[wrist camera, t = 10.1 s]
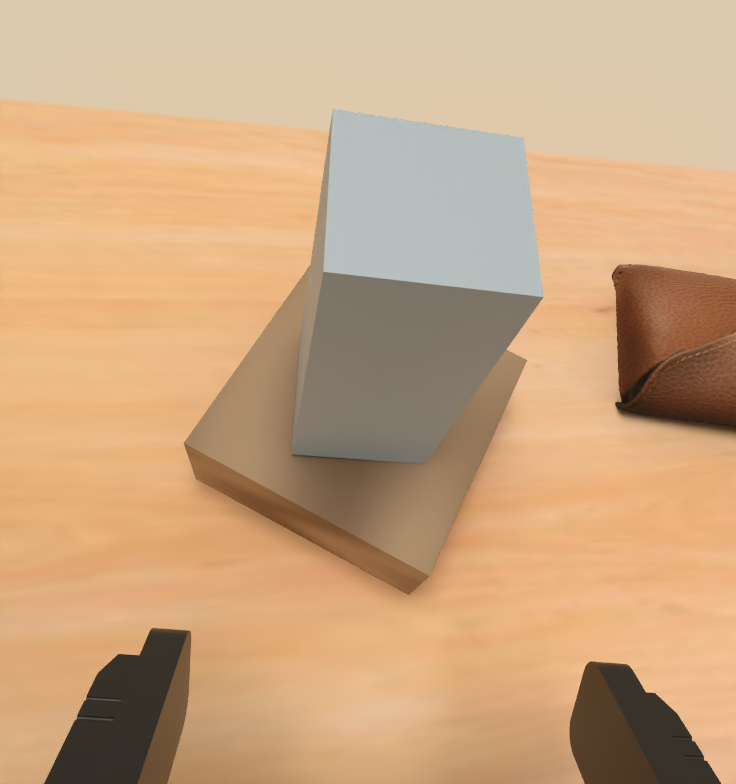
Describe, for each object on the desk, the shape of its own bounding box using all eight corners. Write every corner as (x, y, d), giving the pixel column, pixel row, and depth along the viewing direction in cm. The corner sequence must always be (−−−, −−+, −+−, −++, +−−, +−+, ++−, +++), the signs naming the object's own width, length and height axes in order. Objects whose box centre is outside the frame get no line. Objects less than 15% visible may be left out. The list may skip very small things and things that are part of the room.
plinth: (197, 481, 25) (183, 443, 21) (311, 312, 29) (316, 255, 25) (406, 596, 24) (429, 575, 21) (495, 405, 28) (527, 360, 25)
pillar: (291, 454, 22) (323, 271, 13) (299, 337, 24) (332, 108, 15) (424, 464, 22) (543, 297, 13) (422, 349, 24) (523, 137, 15)
